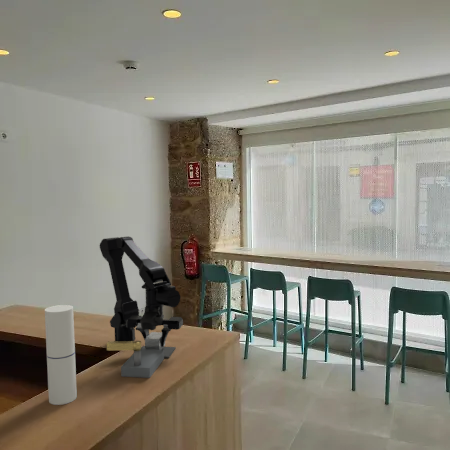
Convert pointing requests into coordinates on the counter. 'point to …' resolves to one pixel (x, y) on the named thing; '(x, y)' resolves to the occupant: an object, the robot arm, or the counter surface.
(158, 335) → the lever cap
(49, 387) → the cylindrical container
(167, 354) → the rubber mat
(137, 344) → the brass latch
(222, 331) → the counter surface
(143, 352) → the body
